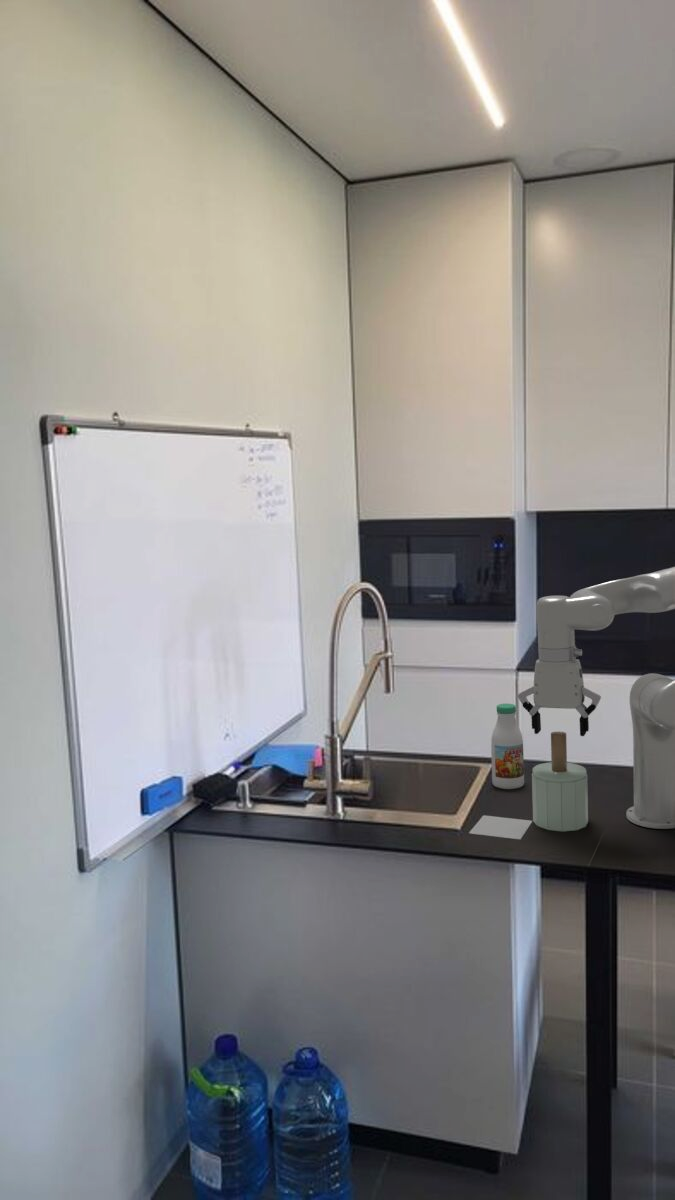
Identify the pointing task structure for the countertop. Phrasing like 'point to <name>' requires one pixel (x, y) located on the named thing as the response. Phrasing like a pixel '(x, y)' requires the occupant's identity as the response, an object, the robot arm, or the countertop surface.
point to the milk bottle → (507, 750)
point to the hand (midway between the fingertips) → (560, 733)
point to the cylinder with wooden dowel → (559, 790)
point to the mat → (501, 827)
